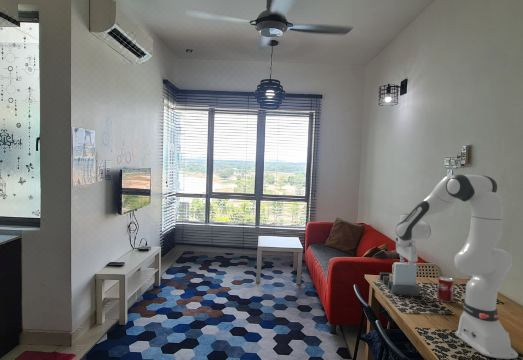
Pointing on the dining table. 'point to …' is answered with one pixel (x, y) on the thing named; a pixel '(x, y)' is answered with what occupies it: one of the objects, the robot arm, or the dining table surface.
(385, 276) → the rack
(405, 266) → the acrylic sheet
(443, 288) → the soda can
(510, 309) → the dining table surface
